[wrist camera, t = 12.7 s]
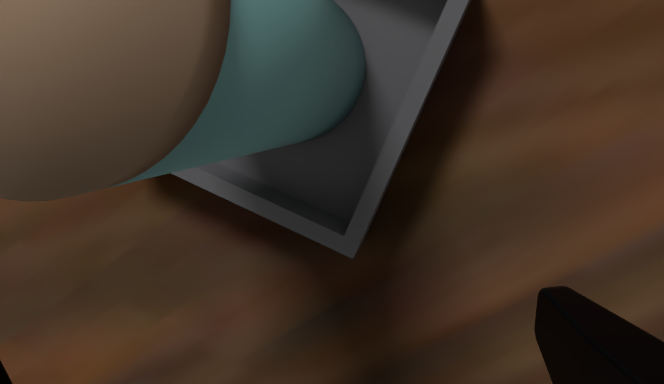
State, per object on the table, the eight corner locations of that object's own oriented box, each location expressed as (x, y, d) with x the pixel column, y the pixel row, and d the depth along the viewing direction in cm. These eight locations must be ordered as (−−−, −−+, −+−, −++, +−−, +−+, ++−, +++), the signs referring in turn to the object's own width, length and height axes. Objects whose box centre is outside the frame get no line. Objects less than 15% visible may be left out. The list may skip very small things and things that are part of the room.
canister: (317, 170, 20) (93, 277, 7) (197, 94, 20) (-206, 72, 8) (394, 37, 18) (285, -114, 6) (264, -40, 19) (-91, -329, 6)
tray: (363, 241, 20) (353, 259, 18) (137, 136, 22) (99, 139, 19) (479, -18, 18) (485, -37, 16) (221, -118, 20) (190, -150, 17)
